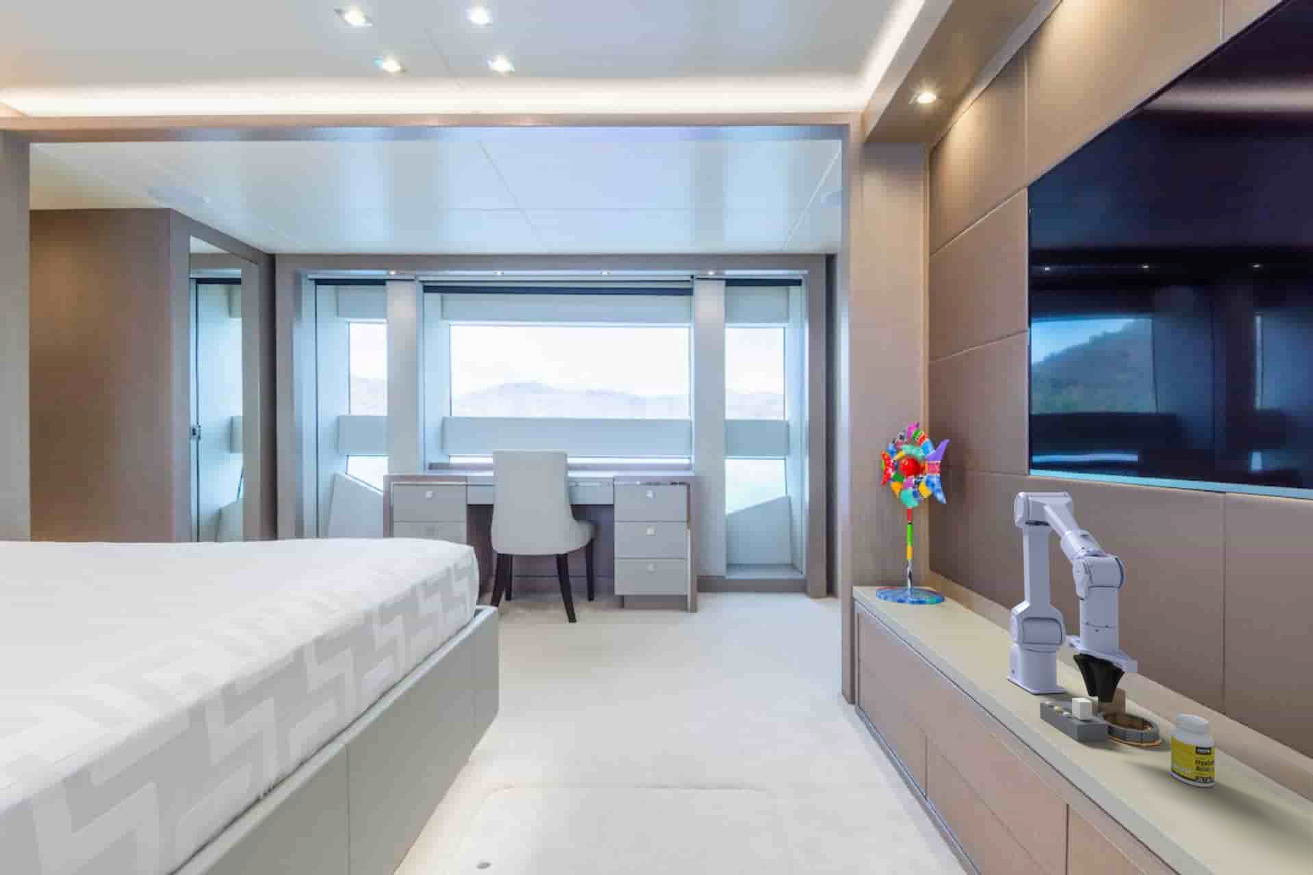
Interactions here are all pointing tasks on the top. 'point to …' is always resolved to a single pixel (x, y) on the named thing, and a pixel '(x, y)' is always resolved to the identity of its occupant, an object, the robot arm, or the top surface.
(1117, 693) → the brown tapered cylinder
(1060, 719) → the switch box
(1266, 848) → the top surface
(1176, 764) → the supplement bottle
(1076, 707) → the handle
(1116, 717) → the ring
